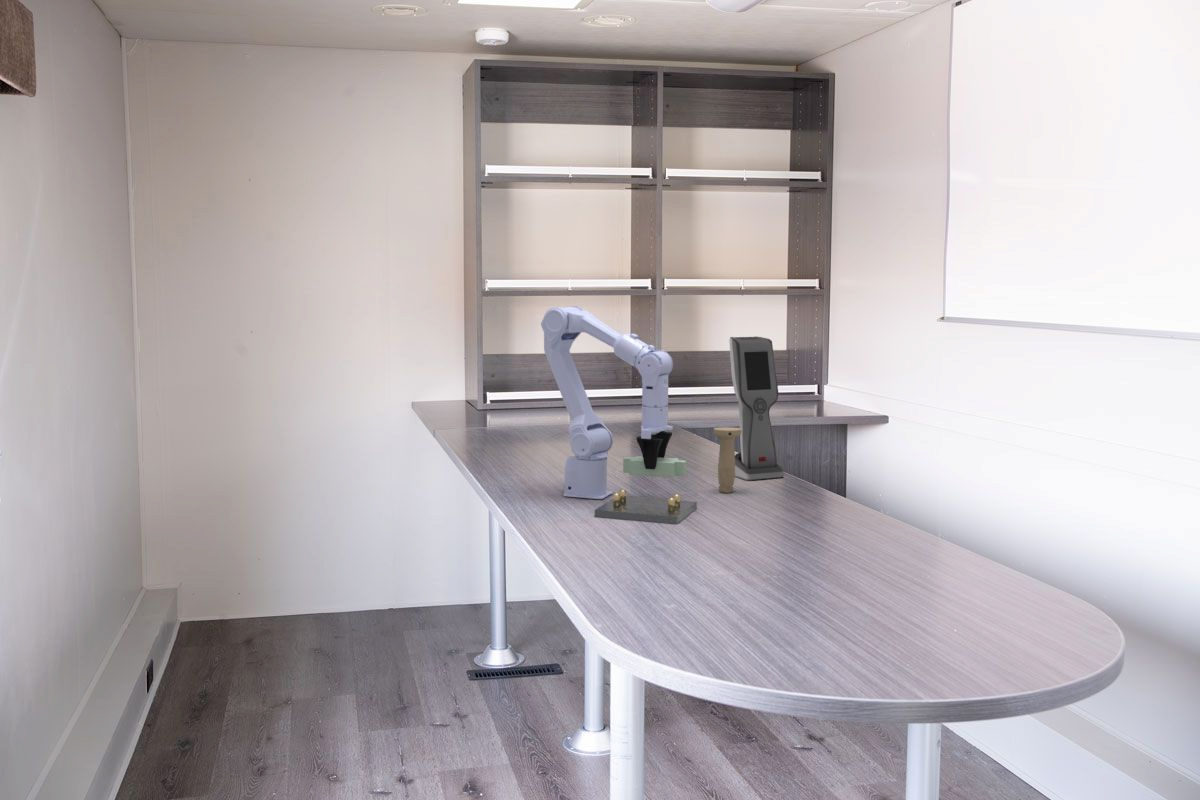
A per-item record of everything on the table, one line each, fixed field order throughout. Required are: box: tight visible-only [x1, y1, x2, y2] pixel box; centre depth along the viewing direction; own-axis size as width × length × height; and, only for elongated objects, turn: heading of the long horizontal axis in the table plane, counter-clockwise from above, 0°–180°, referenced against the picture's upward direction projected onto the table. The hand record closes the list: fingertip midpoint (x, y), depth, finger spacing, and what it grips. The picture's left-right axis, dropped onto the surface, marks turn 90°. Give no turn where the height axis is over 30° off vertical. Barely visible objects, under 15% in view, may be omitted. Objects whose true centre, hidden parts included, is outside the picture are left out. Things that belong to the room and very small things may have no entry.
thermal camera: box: [728, 336, 785, 481], centre depth 278 cm, size 12×13×35 cm
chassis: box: [594, 489, 698, 525], centre depth 236 cm, size 18×16×4 cm
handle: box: [713, 426, 741, 494], centre depth 258 cm, size 5×6×15 cm
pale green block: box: [622, 455, 687, 479], centre depth 244 cm, size 14×6×3 cm, turn 72°
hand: (654, 466), depth 243 cm, fingers closed on pale green block, 6 cm apart
